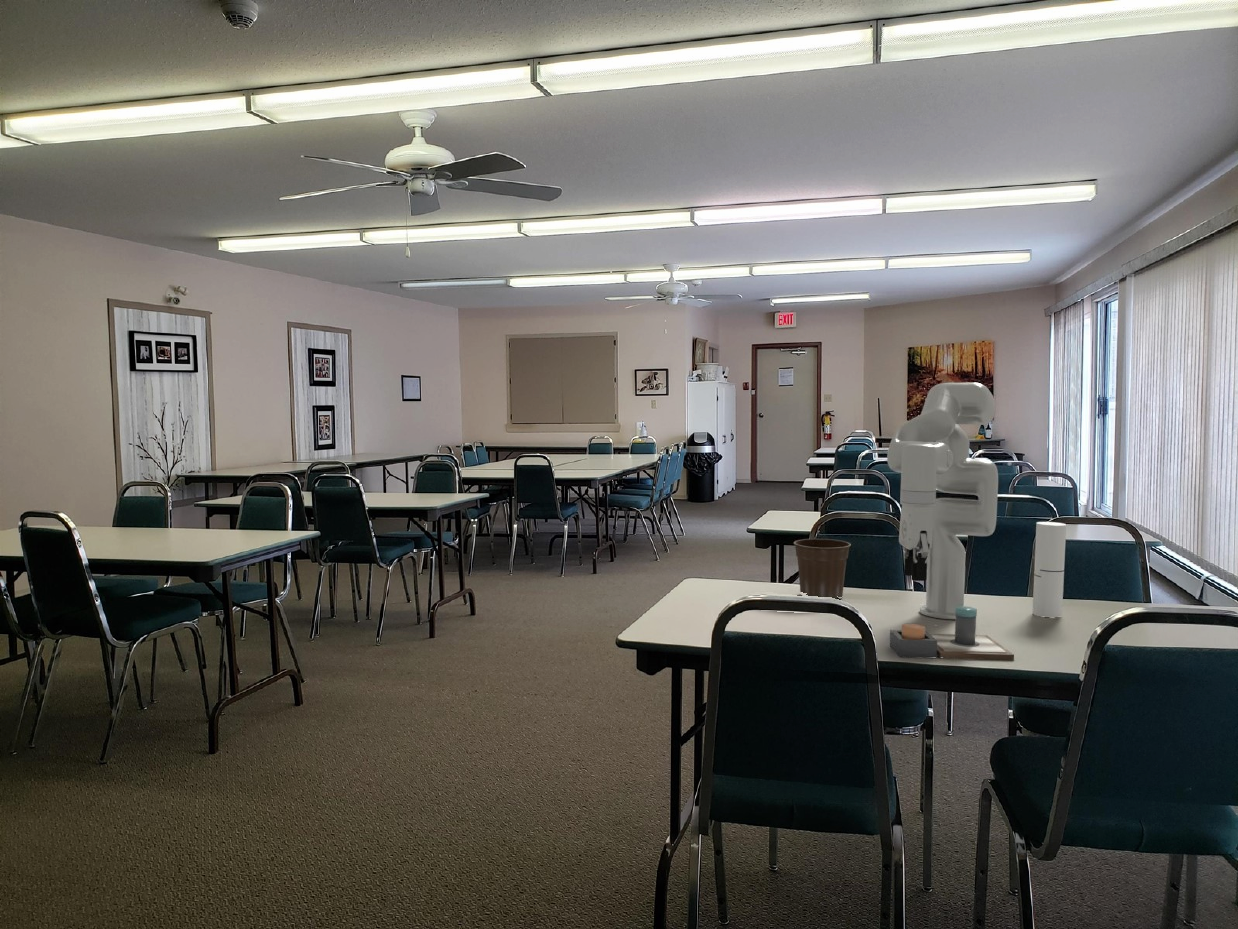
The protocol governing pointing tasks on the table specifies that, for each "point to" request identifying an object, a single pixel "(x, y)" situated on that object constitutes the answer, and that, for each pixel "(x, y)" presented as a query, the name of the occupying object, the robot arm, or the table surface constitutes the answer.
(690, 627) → the table surface
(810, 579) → the plant pot
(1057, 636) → the table surface
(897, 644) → the button housing
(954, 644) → the board
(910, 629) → the button
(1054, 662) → the table surface
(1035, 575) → the cylindrical container
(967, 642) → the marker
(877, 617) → the table surface
